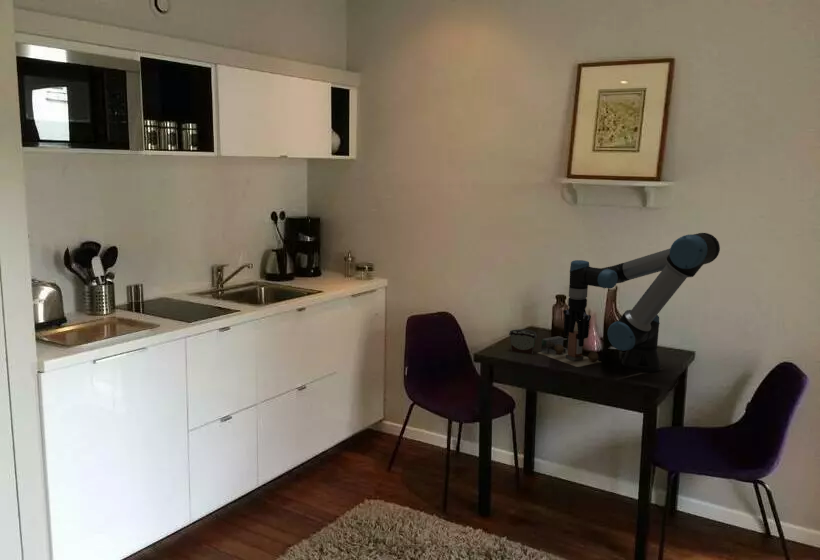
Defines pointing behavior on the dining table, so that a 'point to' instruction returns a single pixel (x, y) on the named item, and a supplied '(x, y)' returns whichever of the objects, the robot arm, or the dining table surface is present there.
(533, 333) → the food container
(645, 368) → the robot arm
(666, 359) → the dining table surface
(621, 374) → the dining table surface
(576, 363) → the board
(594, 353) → the nut
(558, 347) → the nut
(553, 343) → the anvil
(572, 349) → the reddish brown block
